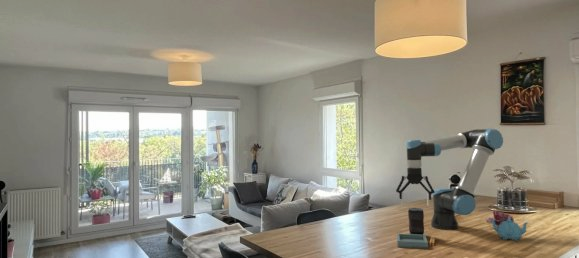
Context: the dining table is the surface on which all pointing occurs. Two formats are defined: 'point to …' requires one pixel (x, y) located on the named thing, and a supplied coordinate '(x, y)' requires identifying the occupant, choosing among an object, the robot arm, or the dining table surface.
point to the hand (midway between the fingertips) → (415, 205)
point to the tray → (412, 241)
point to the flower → (499, 217)
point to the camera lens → (416, 221)
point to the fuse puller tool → (432, 241)
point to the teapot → (509, 229)
